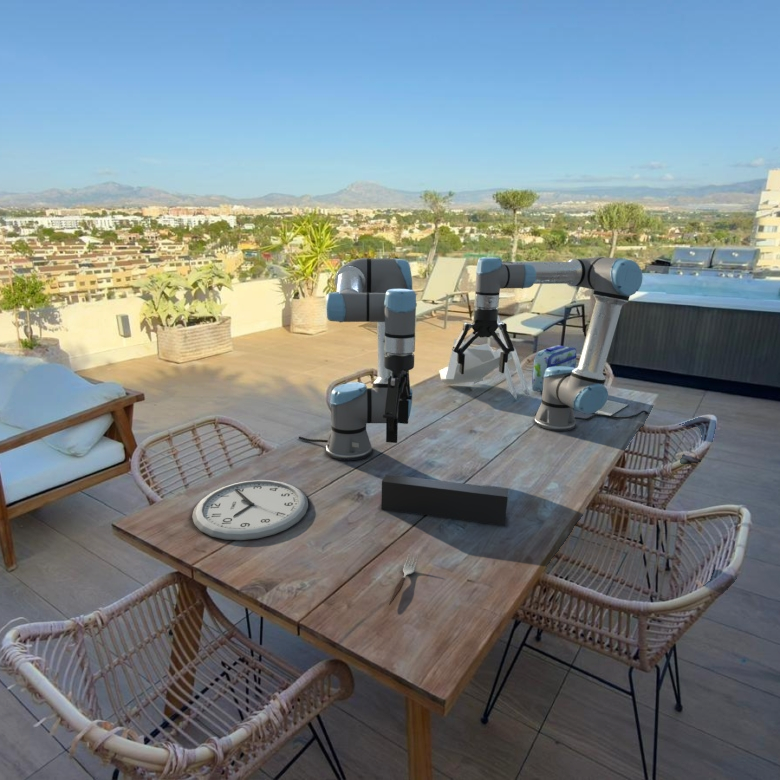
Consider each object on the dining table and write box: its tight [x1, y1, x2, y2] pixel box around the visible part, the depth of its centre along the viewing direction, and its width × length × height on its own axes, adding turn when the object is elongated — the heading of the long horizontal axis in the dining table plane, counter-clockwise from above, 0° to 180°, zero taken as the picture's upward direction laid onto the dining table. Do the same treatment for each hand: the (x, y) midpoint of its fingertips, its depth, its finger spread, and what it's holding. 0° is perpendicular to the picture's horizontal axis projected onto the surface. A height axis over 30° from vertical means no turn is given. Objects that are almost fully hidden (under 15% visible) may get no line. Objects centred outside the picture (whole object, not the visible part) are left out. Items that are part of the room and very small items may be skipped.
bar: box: [380, 473, 509, 527], centre depth 139 cm, size 33×4×8 cm, turn 77°
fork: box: [388, 554, 419, 606], centre depth 112 cm, size 3×16×2 cm, turn 160°
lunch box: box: [531, 345, 577, 393], centre depth 245 cm, size 26×11×21 cm, turn 134°
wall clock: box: [191, 479, 309, 541], centre depth 140 cm, size 30×2×30 cm
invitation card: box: [594, 399, 629, 416], centre depth 226 cm, size 21×1×15 cm
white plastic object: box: [438, 315, 531, 400], centre depth 245 cm, size 37×45×31 cm
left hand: (397, 432), depth 136 cm, fingers open, 13 cm apart
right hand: (481, 372), depth 172 cm, fingers open, 13 cm apart
